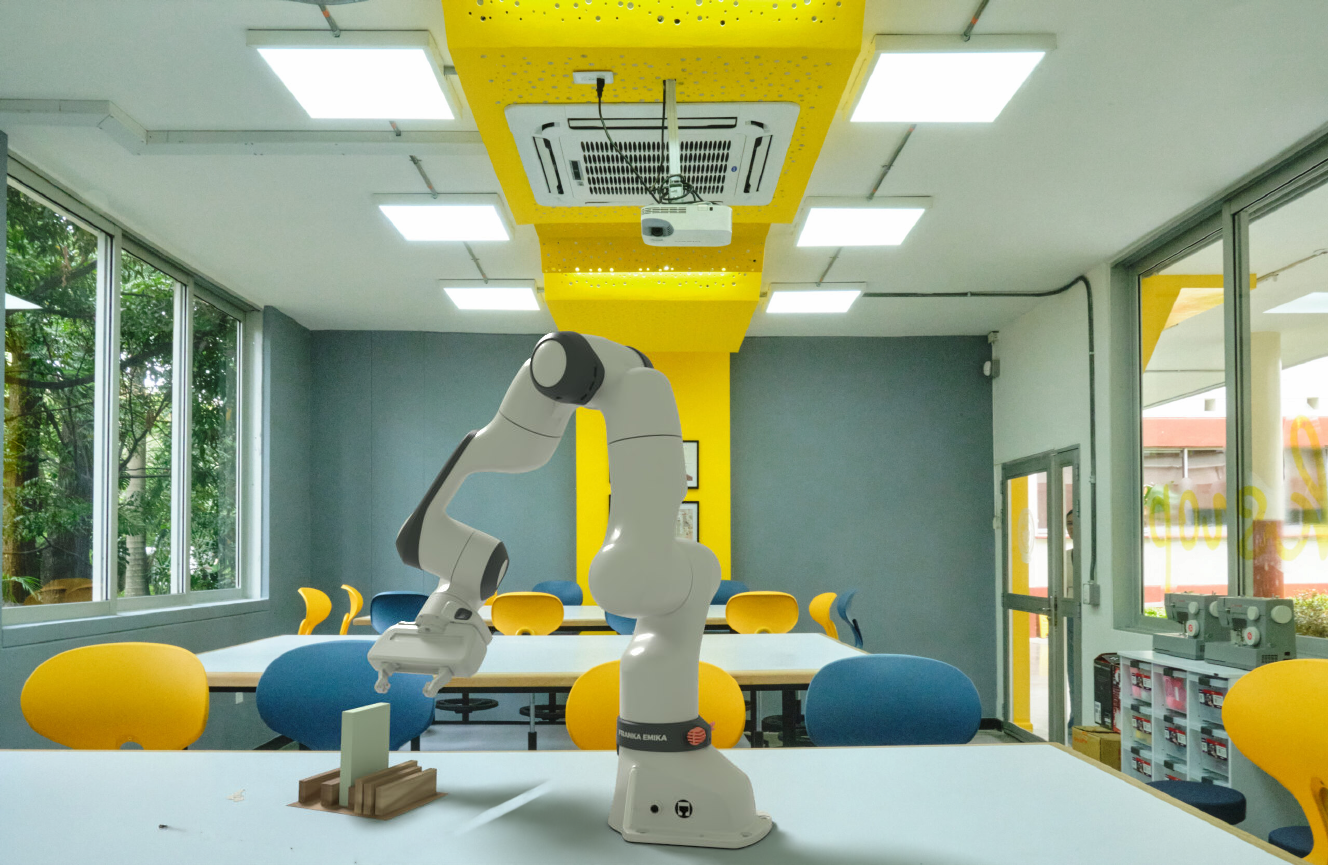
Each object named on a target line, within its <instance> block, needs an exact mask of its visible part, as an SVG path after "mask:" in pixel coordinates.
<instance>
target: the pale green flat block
mask: <svg viewBox="0 0 1328 865" xmlns="http://www.w3.org/2000/svg"><path fill="white" fill-rule="evenodd" d="M390 719H391V703H389V702H377V703H373V704H369V705H364V706H361V707H357V708H353V709H348V710H344V711H341V737H340V743H341V744H340V762H339V763H340V765H339V766H340V792H339V805H342V806H348V787H350V786H352V785H355V779H357V778H360V777H363V776H366V775H369V774H372V773H375V772H378V771H380V770H383V769H386V768H389V767H390V766H389V762H390V761H389V757H390V729H391V728H390V726H391V725H390V723H391V720H390Z"/></svg>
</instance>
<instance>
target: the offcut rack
mask: <svg viewBox="0 0 1328 865" xmlns="http://www.w3.org/2000/svg"><path fill="white" fill-rule="evenodd" d="M418 764H419V762H418V760H416V759H415V760H414V759H410V760H407V761H404V762H401V763H399V764H396V765H393V766H389V767H388V768H386V769H383V770H380V771H378V772H375V773H372V774H369V775H366V776H363V777H360V778H357V779H355V785H352V786H350V787H348V806H342V805H339V792H340V767H337V768H333V769H330V770H327V771H325V772H321V773H318V774H315V775H311V776H309V777H305V778H303V779H299V780H298V796H297V798H298V799H297V800H298V801H295V802H291V803H289V804H286V805H285V807H291V808H292V807H293V808H298V809H299V808H300V809H306V810H313V811H318V812H319V811H320V812H326V813H334V814H338V815H339V814H341V815H346V816H347V815H348V816H354V817H360V818H367V819H373V820H381V821H388V820H390V819H394V818H395V817H397V816H400V815H402V814H405V813H407V812H410V811H411V810H414V809H417V808H419V807H421V806H423V805H426V804H429V803H431V802H433V801H435V800H438V799H440V798H443V797H445V796H449V794H450V793H449V792H440V791H437V780H438V778H437V777H438V776H437V774H438V769H437V768H434V767H429V768H426V769H423V766H421V765H418Z"/></svg>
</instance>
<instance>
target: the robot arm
mask: <svg viewBox="0 0 1328 865" xmlns="http://www.w3.org/2000/svg"><path fill="white" fill-rule="evenodd" d="M580 407H581V408H584V409H588V410H595V411H600V413H601V414H602V416H603V419H604V422H605V431H606V446H607V455H608V456H607V457H608V468H609V482H610V483H609V484H610V507H609V515H608V520H607V521H608V522H607V526H606V530H605V536H604V539H603V542H602V545H601V547H600V548H599V550H598V551H597V553H596V554H595V555H594V557H593V559H592V560H591V562H590V565H589V568H588V569H589V570H588V578H587V579H588V588H589V591H590V594H591V597H592V599H593V600H594V602H595V603H596V605H597V606H599V607H600V609H602V610H603V611H604V612H607V613H608V614H612V615H614V616H618V617H623V618H629V619H634V620H636V621H635V627H634V631H633V633H632V636H631V639H630V640H629V641H630V642H629V643H628V645H627V647H626V649H625V650H624V652H623V653H622V655H621V658H620V663H619V714H618V715H617V717H616V733H615V743H616V745H615V746H616V755H617V756H618V760H617V769H616V778H615V779H616V780H615V786H614V793H613V799H612V804H611V807H610V812H609V815H608V818H607V824H608V825H609V826H610V827H611V828H612V829H614V830H616V831H617V832H619V833H620V834H621V836H622V838H623V840H625V841H627V842H634V843H650V844H663V845H667V844H668V845H675V846H676V845H677V846H678V845H681V846H692V847H693V846H694V847H708V848H709V847H710V848H722V849H723V848H724V849H739V848H743V847H747V846H749V845H753V844H755V843H757V842H759V841H760V840H762V839H763V838H764V837H765V836H767V835H768V833H769V832H770V831H771V830H772V828H773V820H772V816H771V814H770V813H769V811H764V810H760V809H757V807H756V800H755V798H756V797H755V792H754V788H753V786H752V781H751V780H750V778H749V776H748V775H747V773H746V772H744V770H742V769H740V768H739V767H738V766H737V765H735V764H734V762H732V761H731V760H730V759H729V758H728V757H726V756H725V755H724V753H722V752H721V751H719V750H718V748H716V747H715V746H714V745H713V744H712V740H713V739H712V738H713V737H712V736H713V735H712V733H713V731H714V730H716V728H715V727H714V726H715V724H716V721H712V722H710V723H708V722H707V721H706V720H705V719H704V718H703V717H702V716H701V714H699V663H700V653H701V646H702V641H703V637H704V632H705V627H706V622H707V618H708V614H709V609H710V605H711V604H712V601H713V599H714V597H715V595H716V593H718V590H719V588H720V586H721V582H722V568H721V564H720V561H719V559H718V557H717V555H716V554H715V553H714V552H713V550H712V549H711V548H709V547H708V546H706V545H704V544H702V543H700V542H698V541H696V540H694V539H691V538H687V537H681V536H680V537H677V536H676V535H677V534H676V533H677V524H678V518H679V513H680V512H679V511H680V508H681V505H682V502H683V501H684V500H685V498H686V496H687V494H688V488H689V487H688V479H687V478H688V477H687V469H686V460H685V459H686V458H685V457H686V456H685V451H684V449H685V448H684V441H683V432H682V425H681V419H680V415H679V410H678V405H677V402H676V398H675V394H674V391H673V387H672V385H671V381H670V380H669V379H668V377H667V376H666V375H665V374H664V373H663V372H661V371H660V370H657V369H655V367H654V364H653V363H652V361H651V360H650V358H649V357H648V356H647V355H646V354H644V353H643V352H642V351H640V350H639V349H637V348H635V347H633V346H630V345H623V344H621V343H619V342H616V341H613V340H611V339H610V340H609V339H608V338H606V337H604V336H598V335H593V334H586V333H578V332H576V331H573V330H572V331H571V330H563V331H562V330H561V331H554V332H551V333H548V334H545V335H544V336H543V337H542V338H540V340H539V341H537V343H536V345H535V346H534V348H533V350H532V353H531V355H530V358H528V359H527V360H525V362H524V363H523V364H522V366H521V367H520V368H519V370H518V372H517V374H516V375H515V376H514V378H513V380H512V382H511V383H510V385H509V387H508V389H507V390H506V393H505V395H504V397H503V398H502V401H501V404H500V406H499V408H498V410H497V412H496V414H495V416H494V417H493V419H492V420H491V421H490V422H489V423H488V424H487V425H486V426H484V427H483V428H476V429H475V428H474V429H472V430H470V431H469V432H468V433H467V434H465V436H464V437H463V438H462V439H461V440H460V442H459V443H458V445H457V446H456V447H455V449H454V450H453V451H452V453H451V455H449V457H448V459H447V460H446V461H445V463H444V465H443V466H442V468H441V469H440V471H439V472H438V474H437V475H436V477H435V478H434V480H433V482H432V484H431V485H430V487H429V488H428V490H427V491H426V493H425V494H424V496H423V497H422V499H421V501H420V502H419V503H418V505H417V507H416V508H415V509H414V511H413V512H412V513H411V514H410V515H409V517H407V518H406V519H405V521H404V523H402V525H401V527H400V528H399V531H398V532H397V536H396V540H395V548H396V551H397V553H398V555H399V558H400V559H401V561H402V563H403V564H404V565H406V566H409V567H413V568H415V569H418V570H421V571H426V572H428V573H429V574H432V575H435V576H437V577H439V581H438V586H437V588H436V589H435V590H434V591H433V592H431V594H430V595H429V597H428V599H427V600H426V601H425V603H424V604H423V606H422V608H421V609H420V610H419V613H418V614H417V616H416V617H415V619H414V621H410V622H409V621H405V620H404V621H399V622H397V623H396V624H393V625H391V626H389V627H388V628H387V629H386V630H384V631H383V632H382V633H381V635H380V636H379V638H378V639H377V640H376V641H375V643H374V644H373V645H372V646H371V648H370V649H369V651H368V653H367V655H366V656H367V661H368V662H369V664H370V665H371V667H372V668H373V669H374V670H375V671H376V672H378V674H377V675H378V676H377V677H378V678H377V680H376V681H375V684H374V688H373V689H374V691H375V692H377V693H378V694H387V693H388V690H390V688H391V686H392V684H390V682H389V677H390V678H391V677H392V676H393V674H395V673H398V674H411V675H422V676H425V675H426V676H427V675H428V676H435V677H434V678H433V679H432V680H431V681H426V682H425V685H424V686H423V687H422V694H423V695H424V696H425V697H427V698H435V697H436V696H437V694H438V692H439V690H441V689H442V688H443V687H444V686H446V685H447V684H448V683H450V682H451V681H452V679H453V678H454V677H456V678H466V679H467V678H468V679H469V678H472V677H473V676H474V675H476V674H477V673H478V671H479V670H480V668H481V666H482V664H483V662H484V660H485V657H486V655H487V653H488V647H487V646H489V645H490V644H491V643H492V641H493V638H494V636H493V634H492V633H491V631H490V629H489V626H488V625H487V623H486V622H485V620H484V619H483V618H482V616H481V615H480V614H479V610H480V609H481V608H482V607H483V606H484V605H485V604H486V602H487V600H488V599H490V598H492V597H493V596H495V594H496V592H497V590H498V588H499V586H500V585H501V583H502V581H503V579H504V577H505V576H506V574H507V571H508V569H509V566H510V557H509V554H508V550H507V548H506V546H505V544H504V542H503V541H502V540H500V539H499V538H497V537H495V536H492V535H490V534H488V533H486V532H485V531H481V530H479V529H476V528H474V527H472V526H470V525H467V524H466V523H463V522H460V520H456V519H454V518H452V517H450V516H449V514H448V513H447V511H446V510H447V508H448V506H449V505H450V504H451V501H452V500H453V499H454V498H455V495H456V494H457V492H458V491H459V489H460V488H461V486H462V485H463V483H464V481H465V480H466V479H467V477H468V476H470V475H472V474H475V473H484V472H485V473H487V472H488V473H500V474H501V473H503V474H522V473H523V474H524V473H529V472H532V471H535V470H539V469H540V468H542V467H543V466H545V465H546V464H547V463H549V461H550V460H551V459H552V456H553V455H554V453H555V451H556V450H557V449H558V446H559V445H560V442H561V440H562V437H563V435H564V433H565V430H566V429H567V426H568V423H569V421H570V418H571V417H572V414H573V413H574V412H575V411H576V410H577V409H578V408H580Z"/></svg>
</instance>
